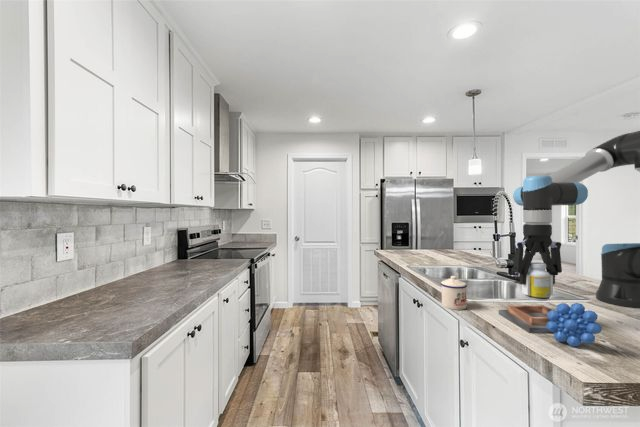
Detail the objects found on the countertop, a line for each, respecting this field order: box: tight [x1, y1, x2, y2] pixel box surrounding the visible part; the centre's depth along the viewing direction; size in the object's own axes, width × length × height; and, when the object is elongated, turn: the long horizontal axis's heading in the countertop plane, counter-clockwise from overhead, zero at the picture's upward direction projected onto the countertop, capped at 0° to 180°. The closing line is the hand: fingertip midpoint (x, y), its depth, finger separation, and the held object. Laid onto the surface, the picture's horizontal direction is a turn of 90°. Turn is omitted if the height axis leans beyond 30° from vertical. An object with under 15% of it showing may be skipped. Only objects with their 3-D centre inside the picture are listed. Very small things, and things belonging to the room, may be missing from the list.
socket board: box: [498, 304, 556, 334], centre depth 95 cm, size 16×16×4 cm
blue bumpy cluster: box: [546, 302, 603, 348], centre depth 79 cm, size 12×7×12 cm, turn 36°
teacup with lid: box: [440, 275, 468, 311], centre depth 112 cm, size 12×9×12 cm
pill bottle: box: [524, 261, 551, 302], centre depth 95 cm, size 6×6×12 cm
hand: (537, 294), depth 95 cm, fingers closed on pill bottle, 6 cm apart
